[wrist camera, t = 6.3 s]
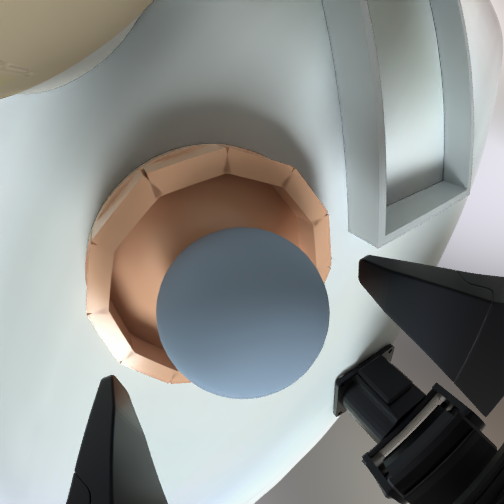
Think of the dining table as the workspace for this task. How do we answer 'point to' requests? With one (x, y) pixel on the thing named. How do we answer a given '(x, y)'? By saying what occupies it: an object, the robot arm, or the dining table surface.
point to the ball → (242, 313)
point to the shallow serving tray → (372, 121)
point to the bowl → (186, 236)
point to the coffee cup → (59, 40)
